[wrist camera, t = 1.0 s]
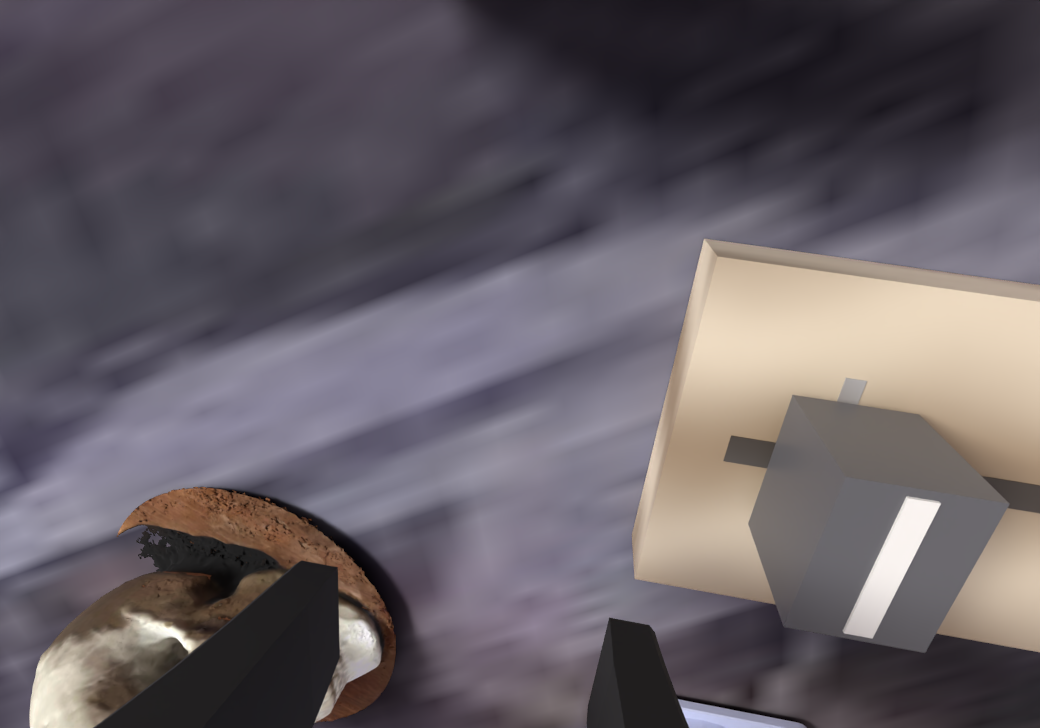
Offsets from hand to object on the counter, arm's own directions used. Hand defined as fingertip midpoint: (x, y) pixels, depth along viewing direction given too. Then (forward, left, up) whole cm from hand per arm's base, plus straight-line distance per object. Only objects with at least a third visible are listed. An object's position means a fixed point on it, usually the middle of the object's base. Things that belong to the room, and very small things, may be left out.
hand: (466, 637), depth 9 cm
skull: (-12, +10, -10) cm, 18 cm away
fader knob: (0, -8, -7) cm, 11 cm away
